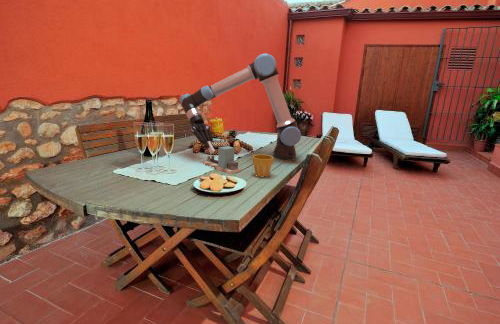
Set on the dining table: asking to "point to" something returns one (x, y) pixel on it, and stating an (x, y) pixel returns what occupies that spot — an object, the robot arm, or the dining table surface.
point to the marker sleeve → (225, 156)
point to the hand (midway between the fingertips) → (212, 152)
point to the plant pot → (262, 164)
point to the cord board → (230, 169)
